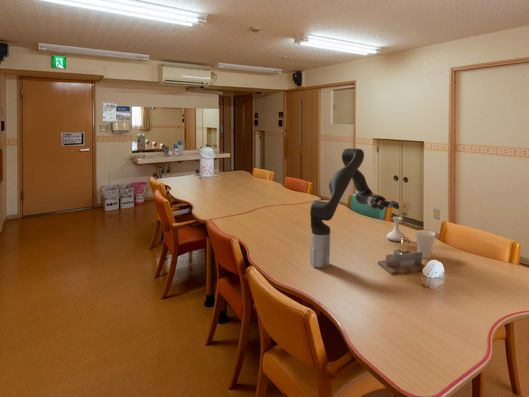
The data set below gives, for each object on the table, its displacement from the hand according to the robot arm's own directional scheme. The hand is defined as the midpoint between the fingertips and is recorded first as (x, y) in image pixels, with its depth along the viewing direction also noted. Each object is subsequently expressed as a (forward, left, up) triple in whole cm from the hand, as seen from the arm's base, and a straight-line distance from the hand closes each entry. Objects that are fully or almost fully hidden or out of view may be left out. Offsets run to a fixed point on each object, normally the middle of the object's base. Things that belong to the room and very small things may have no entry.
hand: (390, 207), depth 191 cm
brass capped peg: (0, -16, -26) cm, 30 cm away
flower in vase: (+19, +24, -27) cm, 41 cm away
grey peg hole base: (0, -16, -27) cm, 31 cm away
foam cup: (+19, -4, -27) cm, 33 cm away
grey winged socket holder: (0, -16, -26) cm, 30 cm away
